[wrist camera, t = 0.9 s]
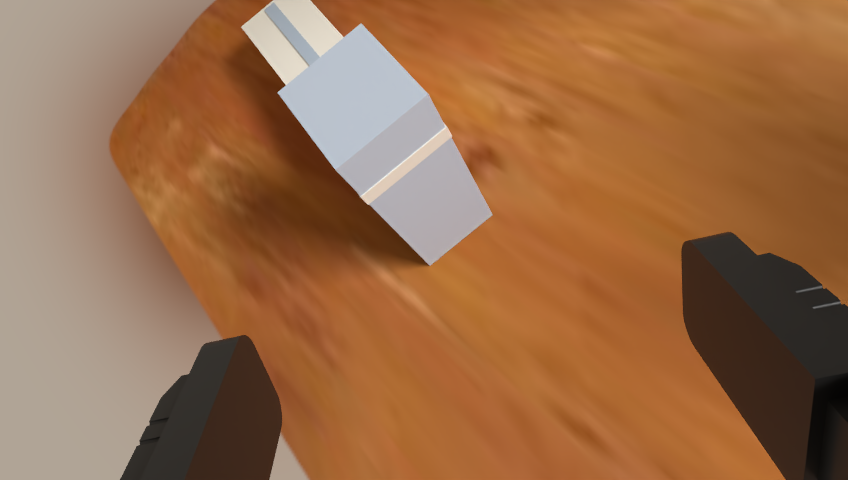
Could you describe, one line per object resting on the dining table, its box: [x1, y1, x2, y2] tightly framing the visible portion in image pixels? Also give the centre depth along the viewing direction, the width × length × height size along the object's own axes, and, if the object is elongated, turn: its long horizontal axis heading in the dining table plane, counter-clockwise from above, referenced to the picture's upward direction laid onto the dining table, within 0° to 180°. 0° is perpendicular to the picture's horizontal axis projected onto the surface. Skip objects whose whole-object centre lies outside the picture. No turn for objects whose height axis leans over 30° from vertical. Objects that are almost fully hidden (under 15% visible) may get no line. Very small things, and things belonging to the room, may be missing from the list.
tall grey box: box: [277, 24, 492, 266], centre depth 29 cm, size 5×5×12 cm
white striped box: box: [242, 0, 344, 85], centre depth 37 cm, size 15×4×4 cm, turn 36°
